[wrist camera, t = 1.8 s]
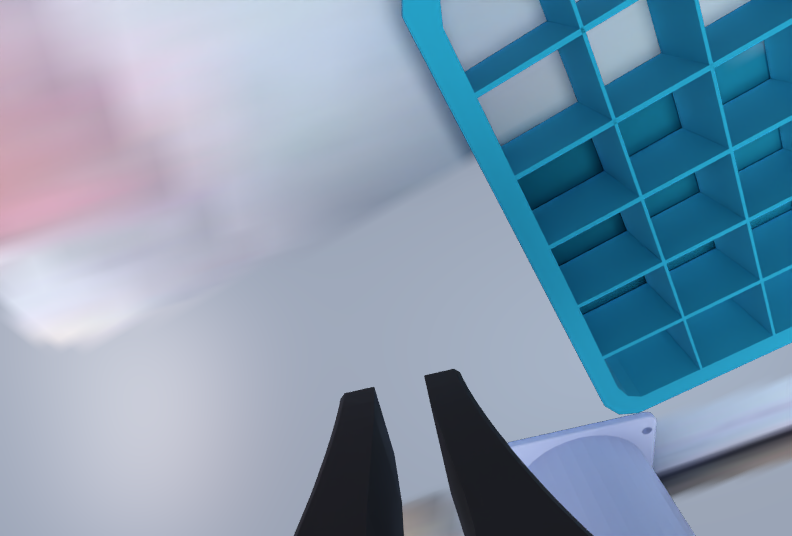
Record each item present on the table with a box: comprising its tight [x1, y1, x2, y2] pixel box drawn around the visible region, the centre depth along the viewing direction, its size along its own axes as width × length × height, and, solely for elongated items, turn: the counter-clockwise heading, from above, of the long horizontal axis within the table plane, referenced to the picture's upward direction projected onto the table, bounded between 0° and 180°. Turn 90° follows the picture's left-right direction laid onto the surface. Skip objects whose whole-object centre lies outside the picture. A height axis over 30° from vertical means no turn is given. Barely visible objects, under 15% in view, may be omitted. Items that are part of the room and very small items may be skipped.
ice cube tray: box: [402, 0, 792, 414], centre depth 19 cm, size 12×20×3 cm, turn 30°
